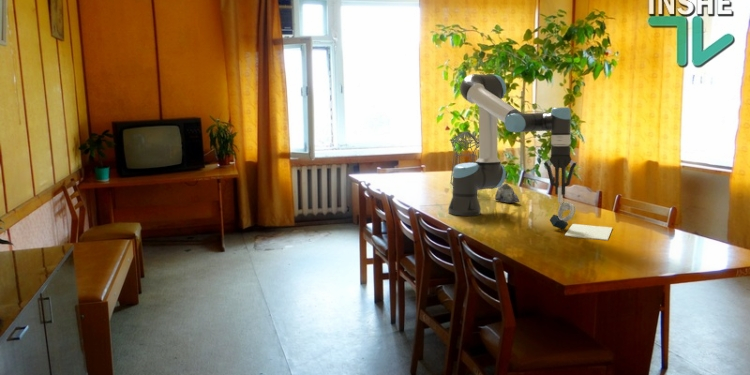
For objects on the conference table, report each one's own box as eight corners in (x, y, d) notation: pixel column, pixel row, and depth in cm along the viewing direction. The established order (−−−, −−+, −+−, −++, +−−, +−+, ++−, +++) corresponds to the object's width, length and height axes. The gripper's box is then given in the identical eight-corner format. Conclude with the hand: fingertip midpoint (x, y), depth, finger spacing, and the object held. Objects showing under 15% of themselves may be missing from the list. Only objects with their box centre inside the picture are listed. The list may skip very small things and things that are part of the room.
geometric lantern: (446, 190, 337) (449, 130, 332) (473, 190, 339) (475, 130, 334) (453, 195, 322) (456, 131, 317) (480, 195, 324) (484, 132, 318)
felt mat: (564, 235, 231) (564, 234, 231) (572, 224, 251) (572, 223, 250) (607, 240, 224) (607, 239, 224) (612, 228, 243) (612, 227, 243)
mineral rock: (520, 205, 294) (521, 185, 293) (499, 205, 294) (500, 185, 292) (513, 200, 307) (514, 181, 305) (493, 200, 307) (494, 181, 305)
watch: (558, 221, 247) (573, 201, 242) (565, 232, 240) (580, 212, 235) (547, 217, 245) (562, 197, 240) (554, 228, 238) (569, 207, 233)
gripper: (542, 145, 237) (542, 203, 239) (575, 145, 231) (575, 204, 233) (546, 145, 243) (545, 200, 246) (578, 144, 237) (577, 202, 240)
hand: (560, 202), depth 240 cm, fingers closed
